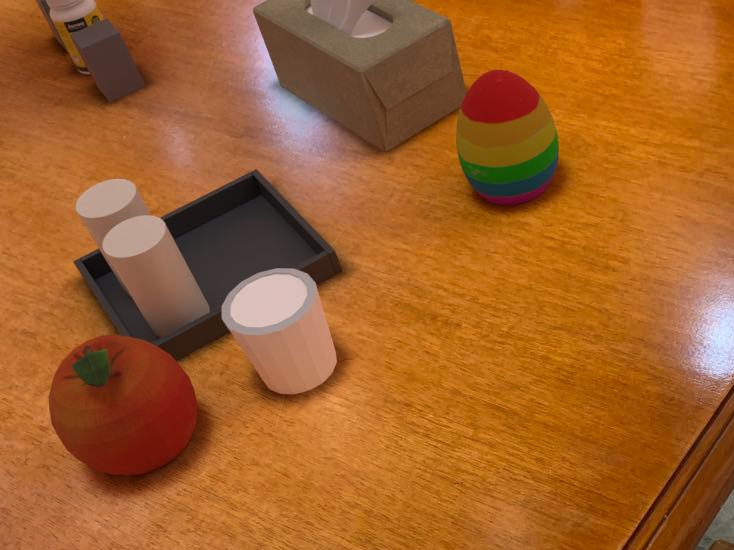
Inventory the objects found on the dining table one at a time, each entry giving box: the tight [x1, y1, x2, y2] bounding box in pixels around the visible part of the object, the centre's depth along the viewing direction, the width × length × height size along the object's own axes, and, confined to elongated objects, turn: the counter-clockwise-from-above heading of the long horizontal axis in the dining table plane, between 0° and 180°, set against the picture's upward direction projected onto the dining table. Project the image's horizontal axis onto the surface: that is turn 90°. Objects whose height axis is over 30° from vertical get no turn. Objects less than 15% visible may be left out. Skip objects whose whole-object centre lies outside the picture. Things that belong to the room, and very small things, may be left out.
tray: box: [72, 168, 343, 362], centre depth 84 cm, size 17×15×3 cm
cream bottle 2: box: [102, 214, 210, 338], centre depth 78 cm, size 5×5×8 cm
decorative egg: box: [455, 69, 560, 206], centre depth 82 cm, size 8×8×10 cm
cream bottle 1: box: [75, 178, 152, 297], centre depth 82 cm, size 5×5×8 cm
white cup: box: [222, 268, 338, 395], centre depth 74 cm, size 7×7×7 cm
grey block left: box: [35, 0, 69, 53], centre depth 111 cm, size 4×4×6 cm
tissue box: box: [252, 0, 468, 153], centre depth 91 cm, size 19×10×16 cm, turn 41°
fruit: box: [48, 334, 198, 477], centre depth 70 cm, size 10×10×10 cm
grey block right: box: [70, 18, 146, 103], centre depth 103 cm, size 4×4×6 cm
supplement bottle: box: [46, 0, 105, 75], centre depth 106 cm, size 5×5×8 cm
